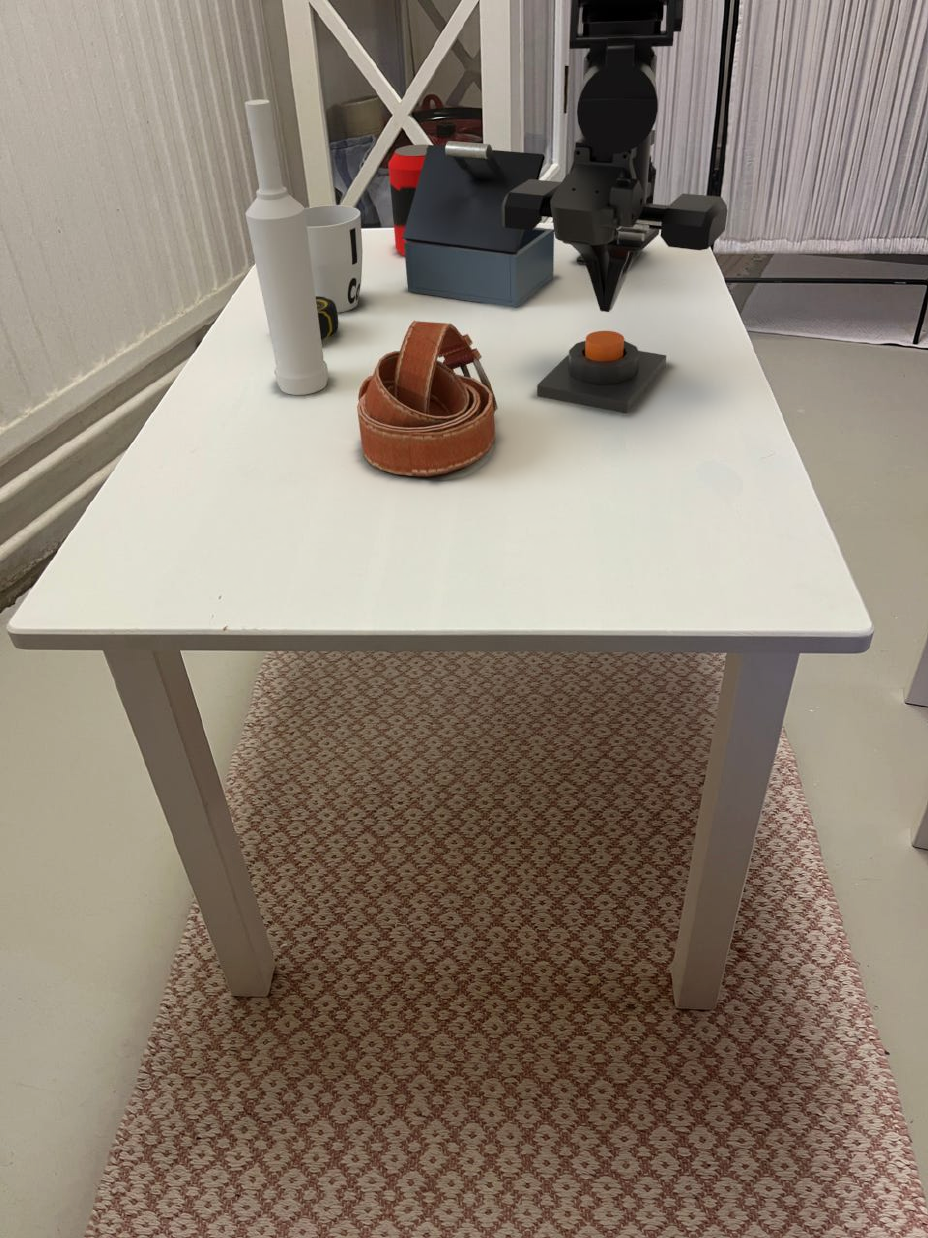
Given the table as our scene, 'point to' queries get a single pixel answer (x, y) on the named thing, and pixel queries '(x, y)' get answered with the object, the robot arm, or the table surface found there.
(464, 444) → the belt
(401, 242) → the soda can
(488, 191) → the box lid
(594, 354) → the button
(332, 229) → the cup
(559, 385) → the block
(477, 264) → the storage case
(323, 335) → the tape measure
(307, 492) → the table surface
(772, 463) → the table surface
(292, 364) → the bottle
